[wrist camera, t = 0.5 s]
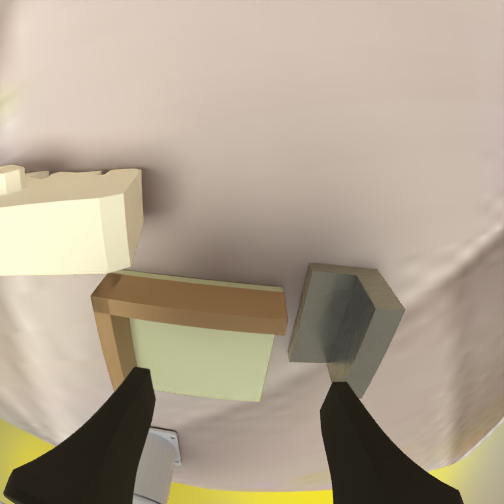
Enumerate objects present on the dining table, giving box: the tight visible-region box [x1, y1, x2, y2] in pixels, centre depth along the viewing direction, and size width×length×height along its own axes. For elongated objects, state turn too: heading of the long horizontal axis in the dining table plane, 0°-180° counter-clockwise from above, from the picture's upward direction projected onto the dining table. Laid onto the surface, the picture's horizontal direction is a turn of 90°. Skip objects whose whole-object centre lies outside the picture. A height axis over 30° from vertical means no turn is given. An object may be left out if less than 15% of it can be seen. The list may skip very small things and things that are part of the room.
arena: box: [91, 270, 288, 402], centre depth 21 cm, size 12×12×4 cm
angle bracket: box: [288, 263, 405, 399], centre depth 20 cm, size 8×5×5 cm, turn 173°
